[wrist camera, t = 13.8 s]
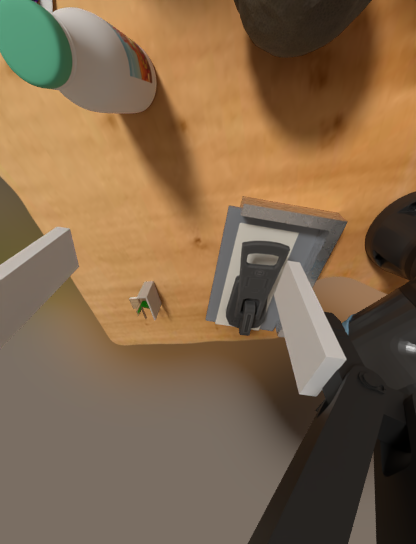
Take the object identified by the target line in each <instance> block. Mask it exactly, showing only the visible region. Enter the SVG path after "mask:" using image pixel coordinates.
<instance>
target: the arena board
mask: <svg viewBox="0 0 416 544" xmlns="http://www.w3.org/2000/svg"><path fill="white" fill-rule="evenodd" d="M320 230H321V229H316V228H310V227H304V226H298V225H293V224H287V223H281V222H275V221H269V220H264V219H258V218H252V217H246V216H241V211H240V207H235V206H229V208H228V213H227V218H226V223H225V227H224V232H223V237H222V242H221V247H220V252H219V257H218V262H217V266H216V271H215V276H214V281H213V286H212V291H211V296H210V300H209V305H208V310H207V315H206V320H207V321H213V322H215V324H221V325H227V326H231V325H229V323H228V321H227V319H226V308H227V305H228V302H229V298H230V295H231V292H232V288H233V285H234V282H235V278H236V276H238V275H240V264H241V250H242V243H243V242H248V241H272V242H277V243H281V244H284V245H287V246H289V247H290V252H289V254H288V256H287V258H286V260H285V262H284V264H283V266H282V268H281V270H280V272H279V275H278V277H277V279H276V281H275V283H274V285H273V287H272V289H271V292H270V294H269V296H268V299H267V307H266V316H265V321H264V322H263V323H262V324H261V325H260V326H259V327H258V328H251V329H252V330H258V331H259V329H262V330H268V331H273V330H274V328H275V325H276V323H277V321H278V319H279V313H278V309H277V305H276V301H275V297H274V293H275V291H276V288H277V285H278V283H279V280H280V278H281V275H282V273H283V270H284V268H285V265H286V262H287V261H294V262H300V264H301V266H302V268H303V266H304V264H305V262H306V259H307V257H308V255H309V253H310V251H311V249H312V247H313V244H314V242H315V240H316V238H317V236H318V234H319V232H320ZM278 258H279V257H278V256H275V255H268V254H257V253H256V254H249V255H248V257H247V262H248V263H251V264H262V265H275V264H276V263H277V261H278ZM233 327H234V326H233Z"/></svg>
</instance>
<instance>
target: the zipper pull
mask: <svg viewBox="0 0 416 544" xmlns="http://www.w3.org/2000/svg"><path fill="white" fill-rule="evenodd" d="M289 252H290V247H289V246H287V245H284V244H281V243H277V242H272V241H248V242H243V243H242V250H241V264H240V275H238V276H236V278H235V282H234V285H233V288H232V292H231V295H230V298H229V302H228V305H227V308H226V319H227V321H228V323H229V325H231V326H234V327H237V328H239V333H240V335H247V336H248V335H250V331H251V328H258V327H259V326H260V325H261V324H262V323H263V322H264V321H265V316H266V307H267V299H268V296H269V294H270V292H271V289H272V287H273V285H274V283H275V281H276V279H277V277H278V275H279V272H280V270H281V268H282V266H283V264H284V262H285V260H286V258H287V256H288V254H289ZM256 253H257V254H268V255H275V256H278V257H279V258H278V261H277V263H276V264H275V265H262V264H251V263H248V262H247V257H248V255H249V254H256Z"/></svg>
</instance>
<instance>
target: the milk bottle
mask: <svg viewBox="0 0 416 544" xmlns="http://www.w3.org/2000/svg"><path fill="white" fill-rule="evenodd" d="M0 52H1V54H2V56H3V58H4V59H5V61H6V62H7V64H8V65H9V67H10V68H11V69H12V70H13V71H14V72H15V73H16V74H17V75H18V76H19V77H20V78H22V79H23V80H24V81H26V82H28V83H30V84H32V85H34V86H37V87H41V88H47V89H54V90H59V91H60V92H61V93H62V94H63V95H64V96H65V97H66V98H68V99H69V100H70V101H72V102H73V103H75V104H76V105H78V106H80V107H82V108H84V109H87V110H90V111H94V112H101V113H139V112H142V111H144V110H145V109H147V108H148V107H149V106H150V104H151V103H152V101H153V99H154V97H155V93H156V85H157V82H156V74H155V70H154V67H153V64H152V62H151V60H150V58H149V57H148V55H147V54H146V52H145V51H144V50H143V49H142V48H141V47H140V46H139V45H137V44H136V43H135V42H134V41H132V40H131V39H130V38H128V37H127V36H126V35H124V34H123V33H122V32H120V31H119V30H117V29H116V28H115V27H113V26H112V25H111V24H109V23H108V22H106V21H105V20H103V19H102V18H100V17H98V16H97V15H95V14H93V13H91V12H88V11H86V10H83V9H79V8H72V7H67V8H61V9H58V10H56V11H54V12H51V11H49V10H48V9H46V8H44V7H42V6H40V5H39V4H37V3H36V2H34V1H32V0H0Z"/></svg>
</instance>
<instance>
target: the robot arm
mask: <svg viewBox="0 0 416 544" xmlns="http://www.w3.org/2000/svg"><path fill="white" fill-rule="evenodd" d="M365 248H366V252H367V254H368V256H369V257H370V258H371V259H372V261H373V262H374V263H375V264H376V265H378V266H379V267H380V268H382V269H384V270H386V271H388V272H391V273H393V274H396V275H398V276H401V277H403V278H406V279H408V280H410V281H409V282H408V283H406V284H405V285H403V286H401V287H400V288H398V289H396V290H394V291H393V292H391V293H390V294H388V295H386V296H385V297H383V298H381V299H380V300H378V301H377V302H375V303H373V304H372V305H370V306H368V307H366V308H365V309H363V310H362V311H360V312H358V313H356V314H353V315H351V316H350V317H349V318H348V319H347V320H346V321H344V322H343V323H341V321H340V320H339V319H338V318H337V317H336V316H335V315H334V314H332V313H328V312H323V310H322V307H321V306H320V303H319V301H318V299H317V297H316V295H315V293H314V291H313V289H312V287H311V285H310V283H309V281H308V279H307V276H306V274H305V272H304V270H303V268H302V266H301V264H300V262H294V261H287V262H286V265H285V268H284V270H283V273H282V275H281V278H280V280H279V283H278V285H277V288H276V291H275V293H274V297H275V301H276V305H277V309H278V313H279V317H280V321H281V325H282V329H283V332H284V336H285V340H286V344H287V348H288V352H289V356H290V359H291V364H292V367H293V371H294V375H295V379H296V383H297V387H298V391H299V394H302V395H309V396H317V395H318V394H319V393H320V392H321V390H323V392H324V395H325V398H326V399H325V400H324V401H323V402H322V404H320V406H319V407H318V408H317V409H316V411H317V414H316V416H315V417H314V419H313V421H312V423H311V425H310V427H309V429H308V431H307V433H306V434H305V436H304V438H303V440H302V442H301V444H300V446H299V448H298V450H297V451H296V453H295V455H294V458H293V459H292V461H291V463H290V465H289V467H288V468H287V470H286V472H285V474H284V476H283V478H282V480H281V482H280V484H279V486H278V487H277V489H276V491H275V493H274V495H273V497H272V499H271V501H270V503H269V505H268V506H267V508H266V510H265V512H264V514H263V516H262V518H261V520H260V521H259V523H258V525H257V527H256V529H255V531H254V533H253V535H252V537H251V538H250V541H249V542H248V544H348V542H349V538H350V534H351V531H352V527H353V523H354V520H355V516H356V513H357V509H358V505H359V501H360V498H361V494H362V490H363V487H364V483H365V479H366V476H367V473H368V469H369V465H370V462H371V458H372V454H373V451H374V479H375V511H376V541H377V544H416V192H413V193H410V194H408V195H405V196H403V197H401V198H400V199H398V200H396V201H395V202H393V203H392V204H390V205H389V206H388V207H386V208H385V209H384V210H383V211H382V212H381V213H380V214H379V215H378V216H377V217H376V219H375V220H374V221H373V223H372V224H371V226H370V228H369V230H368V232H367V235H366V239H365ZM78 267H79V265H78V260H77V256H76V252H75V248H74V244H73V240H72V235H71V231H70V229H69V228H62V227H56V228H54V229H53V230H51V231H50V232H48V233H47V234H45V235H44V236H43V237H41V238H40V239H38V240H37V241H35V242H34V243H32V244H31V245H29V246H28V247H26V248H25V249H23V250H22V251H20V252H19V253H17V254H16V255H14V256H13V257H11V258H10V259H8V260H7V261H6V262H4V263H3V264H1V265H0V349H1V348H2V347H3V346H4V345H5V344H6V343H7V342H8V341H9V340H10V339H11V337H12V336H13V335H14V334H15V333H16V332H17V331H18V330H19V329H20V328H21V327H22V326H23V325H24V324H25V323H26V322H27V321H28V320H29V319H30V318H31V317H32V315H33V314H34V313H35V312H36V311H37V310H38V309H39V308H40V307H41V306H42V305H43V304H44V303H45V302H46V301H47V300H48V299H49V298H50V297H51V296H52V295H53V293H54V292H55V291H56V290H57V289H58V288H59V287H60V286H61V285H62V284H63V283H64V282H65V281H66V280H67V279H68V278H69V277H70V276H71V275H72V274H73V273H74V271H75V270H76V269H77V268H78Z"/></svg>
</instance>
